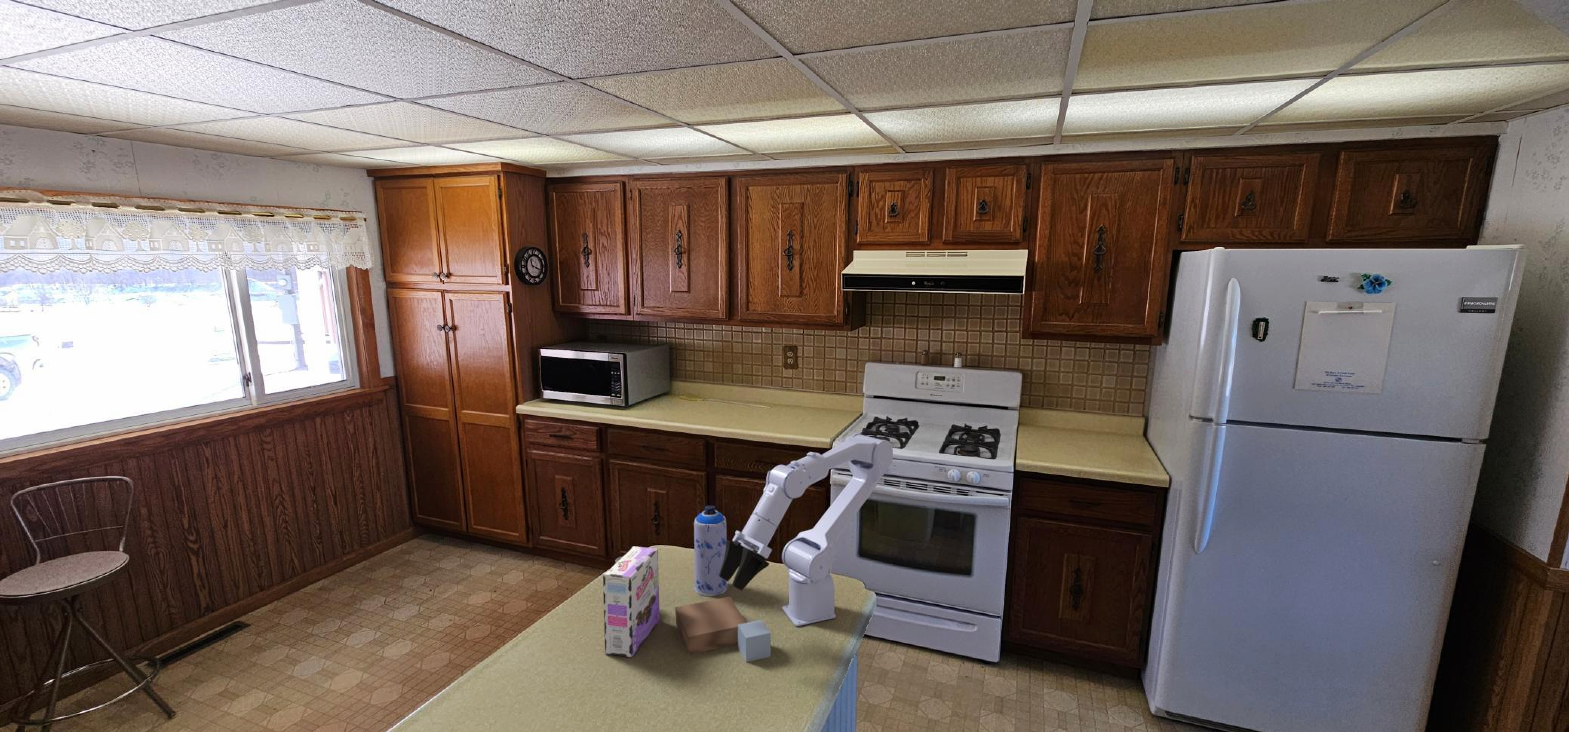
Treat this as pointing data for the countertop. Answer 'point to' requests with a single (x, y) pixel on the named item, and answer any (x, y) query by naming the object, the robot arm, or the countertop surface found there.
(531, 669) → the countertop surface
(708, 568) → the aerosol can
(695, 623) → the walnut slab
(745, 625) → the slate cube
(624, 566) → the candy box
